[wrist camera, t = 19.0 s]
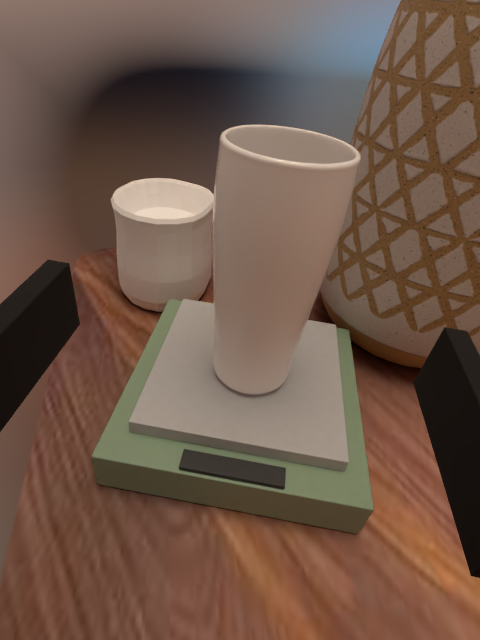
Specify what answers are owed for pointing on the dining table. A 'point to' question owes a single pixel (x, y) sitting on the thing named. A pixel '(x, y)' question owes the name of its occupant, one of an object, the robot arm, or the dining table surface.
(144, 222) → the cup
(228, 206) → the drinking glass
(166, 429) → the scale
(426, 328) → the vase
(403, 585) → the dining table surface
